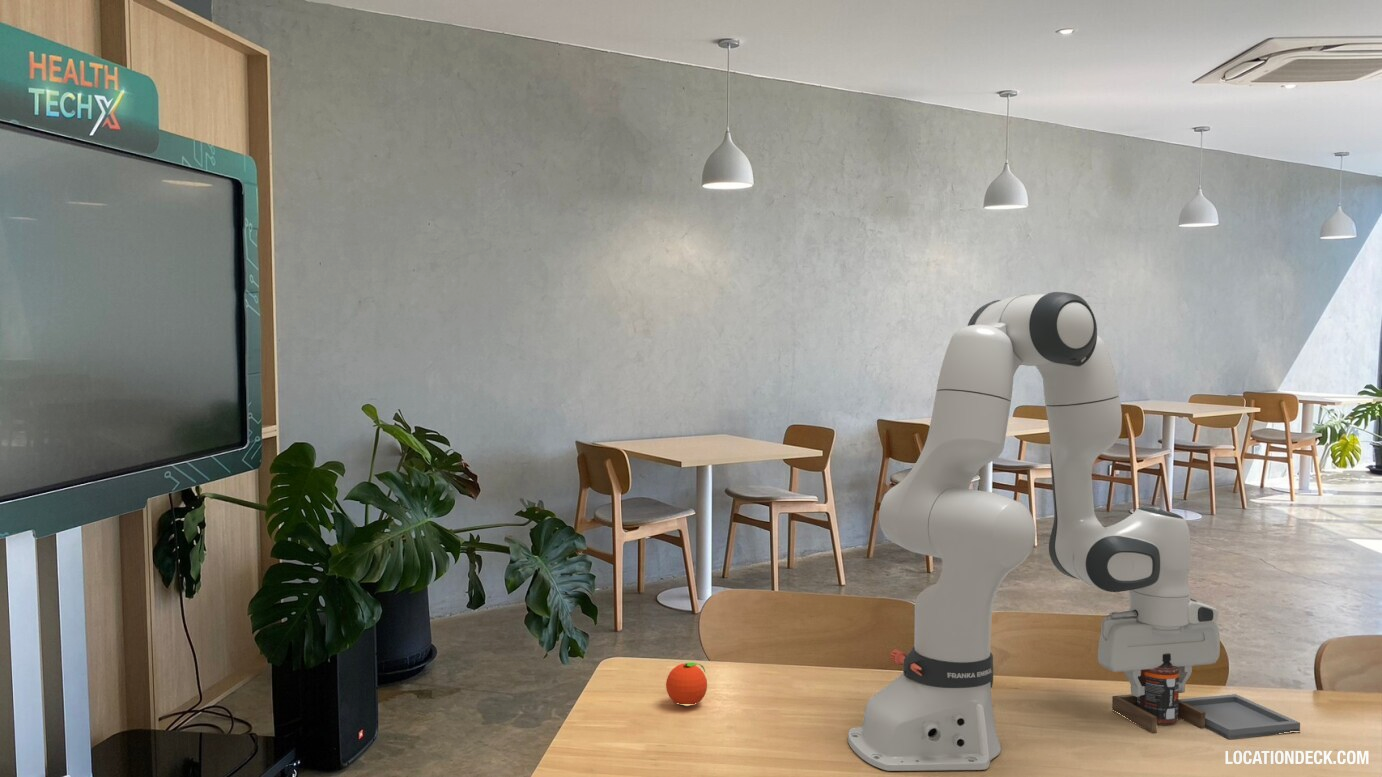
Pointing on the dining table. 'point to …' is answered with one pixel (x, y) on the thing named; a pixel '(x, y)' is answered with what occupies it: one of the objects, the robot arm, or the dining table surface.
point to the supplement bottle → (1161, 691)
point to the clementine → (686, 684)
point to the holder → (1148, 721)
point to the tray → (1241, 717)
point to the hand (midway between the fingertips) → (1157, 693)
